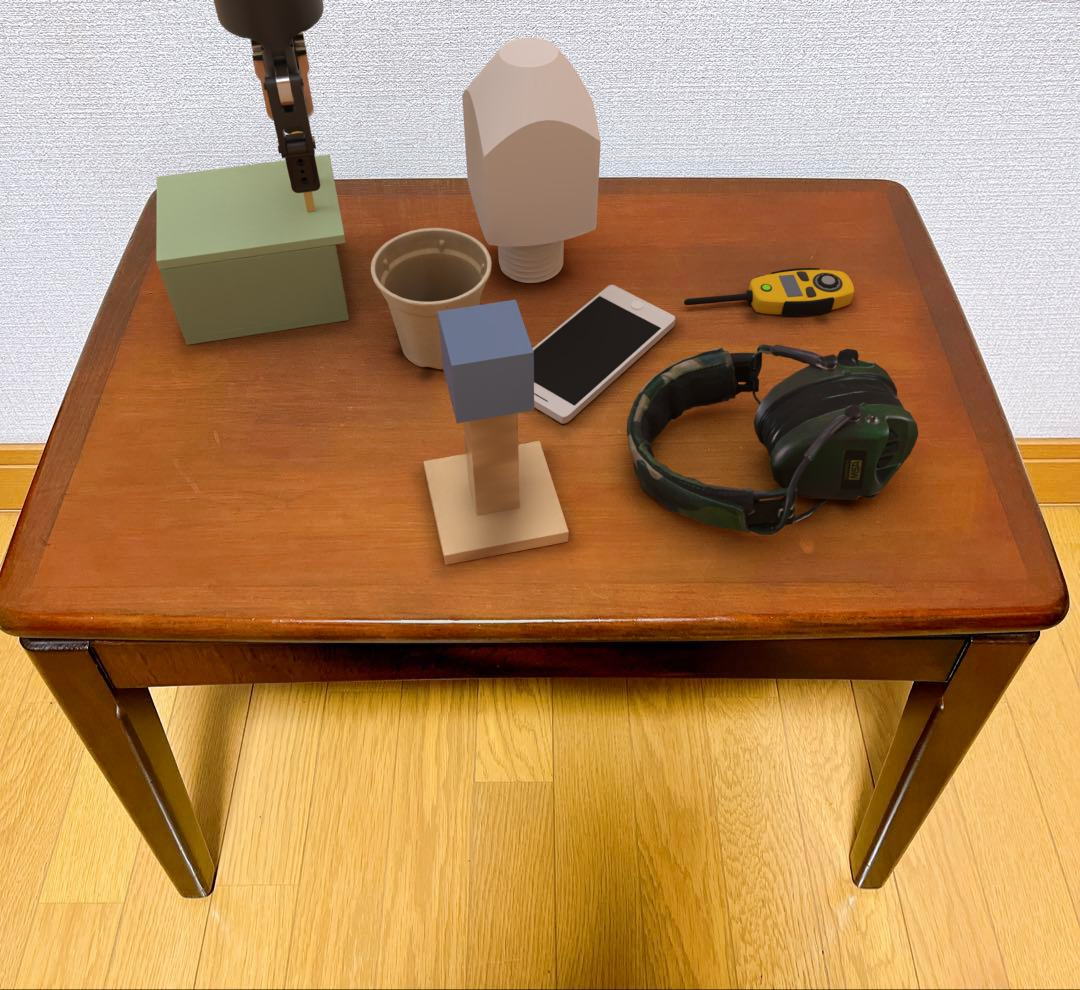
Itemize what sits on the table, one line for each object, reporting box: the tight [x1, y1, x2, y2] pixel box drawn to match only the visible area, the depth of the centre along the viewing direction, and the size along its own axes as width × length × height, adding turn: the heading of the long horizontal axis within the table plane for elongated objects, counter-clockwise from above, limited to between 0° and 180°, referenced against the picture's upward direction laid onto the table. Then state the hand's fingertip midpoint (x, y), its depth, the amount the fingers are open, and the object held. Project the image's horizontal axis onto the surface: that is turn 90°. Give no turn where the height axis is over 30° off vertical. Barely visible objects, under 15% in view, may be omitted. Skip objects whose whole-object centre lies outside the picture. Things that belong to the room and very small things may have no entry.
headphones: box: [626, 343, 919, 536], centre depth 74 cm, size 13×13×20 cm
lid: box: [155, 131, 347, 270], centre depth 82 cm, size 15×12×6 cm
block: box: [438, 299, 535, 424], centre depth 64 cm, size 5×5×5 cm
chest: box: [159, 244, 350, 346], centre depth 87 cm, size 14×12×8 cm
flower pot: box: [370, 227, 492, 370], centre depth 82 cm, size 9×9×9 cm
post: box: [423, 413, 570, 566], centre depth 70 cm, size 9×9×12 cm
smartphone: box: [532, 284, 676, 424], centre depth 85 cm, size 7×15×1 cm, turn 140°
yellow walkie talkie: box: [683, 267, 855, 317], centre depth 89 cm, size 5×2×15 cm
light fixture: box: [461, 37, 602, 284], centre depth 85 cm, size 9×9×20 cm
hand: (302, 159), depth 82 cm, fingers open, 8 cm apart
